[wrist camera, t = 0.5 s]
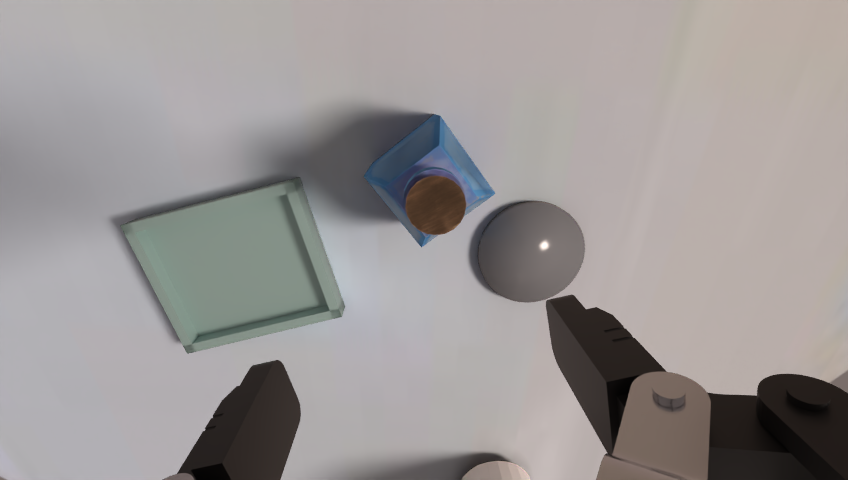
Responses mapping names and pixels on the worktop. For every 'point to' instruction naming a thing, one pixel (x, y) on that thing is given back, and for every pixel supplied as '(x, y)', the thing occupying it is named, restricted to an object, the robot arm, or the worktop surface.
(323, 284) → the tray
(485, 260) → the grey domed puck
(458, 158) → the perfume bottle
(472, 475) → the cup
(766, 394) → the robot arm
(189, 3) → the worktop surface
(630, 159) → the worktop surface
